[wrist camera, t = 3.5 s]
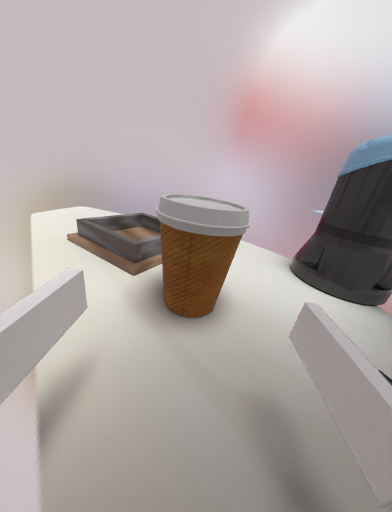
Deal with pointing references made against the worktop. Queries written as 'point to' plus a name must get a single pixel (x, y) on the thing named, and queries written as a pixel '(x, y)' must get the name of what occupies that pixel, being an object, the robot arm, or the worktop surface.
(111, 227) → the cup holder plate
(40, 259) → the worktop surface
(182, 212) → the disposable coffee cup
